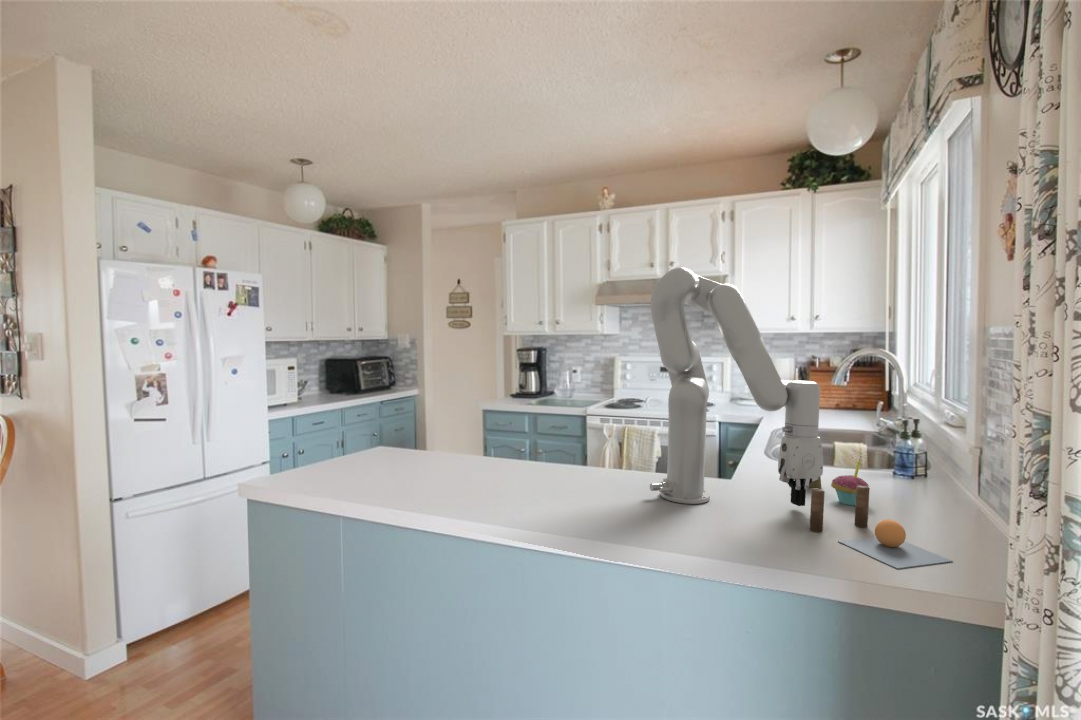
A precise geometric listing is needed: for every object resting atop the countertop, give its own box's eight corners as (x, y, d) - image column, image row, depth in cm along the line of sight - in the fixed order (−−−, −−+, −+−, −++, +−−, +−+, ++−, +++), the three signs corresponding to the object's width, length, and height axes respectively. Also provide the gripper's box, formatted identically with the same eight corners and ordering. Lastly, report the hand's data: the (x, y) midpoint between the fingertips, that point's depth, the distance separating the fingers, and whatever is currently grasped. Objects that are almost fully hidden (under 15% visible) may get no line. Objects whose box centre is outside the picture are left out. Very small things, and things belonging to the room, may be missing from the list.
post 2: (861, 528, 129) (863, 489, 129) (851, 524, 132) (853, 485, 131) (870, 527, 130) (872, 488, 130) (860, 523, 133) (862, 485, 132)
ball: (875, 516, 118) (864, 536, 121) (898, 534, 114) (887, 555, 116) (892, 512, 121) (882, 532, 123) (916, 530, 116) (905, 550, 118)
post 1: (815, 532, 126) (817, 492, 125) (807, 528, 128) (808, 489, 128) (825, 531, 126) (827, 491, 126) (816, 527, 129) (818, 488, 128)
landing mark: (897, 569, 107) (897, 568, 107) (838, 542, 120) (838, 541, 120) (952, 561, 111) (952, 560, 111) (890, 536, 125) (890, 535, 125)
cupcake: (864, 500, 151) (866, 455, 151) (871, 509, 143) (873, 462, 143) (828, 496, 154) (830, 452, 153) (833, 505, 146) (835, 459, 145)
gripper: (786, 434, 135) (783, 511, 136) (837, 432, 139) (833, 506, 140) (765, 429, 142) (762, 501, 143) (814, 427, 146) (811, 498, 147)
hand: (797, 504), depth 142 cm, fingers closed
